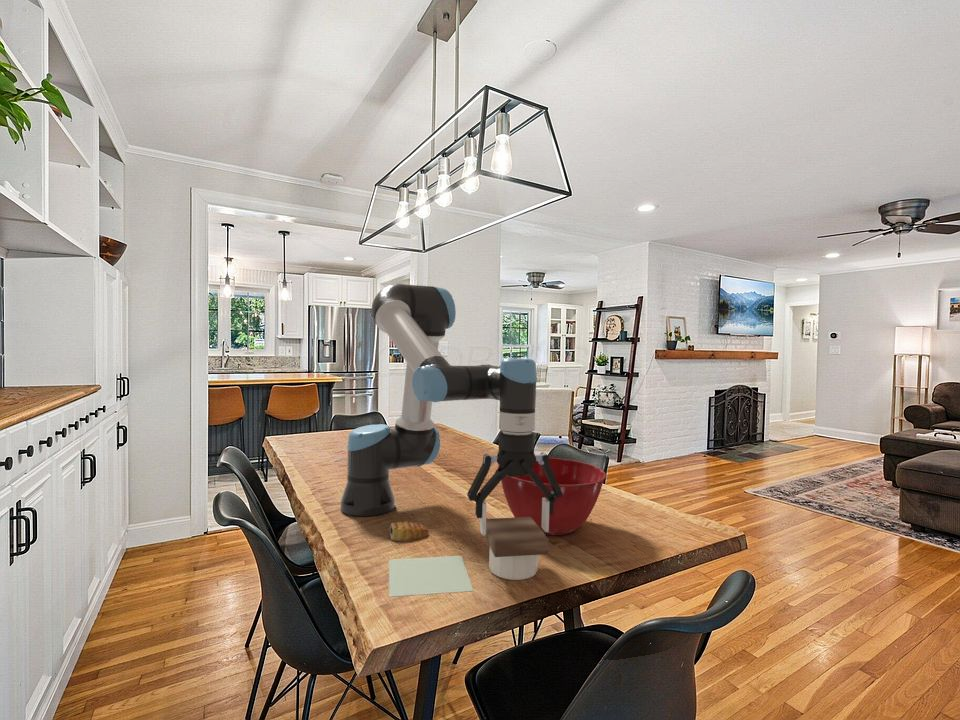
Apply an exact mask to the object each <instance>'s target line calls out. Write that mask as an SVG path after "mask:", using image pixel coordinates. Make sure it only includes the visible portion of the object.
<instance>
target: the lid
mask: <svg viewBox="0 0 960 720" xmlns="http://www.w3.org/2000/svg"><path fill="white" fill-rule="evenodd" d="M483 537H484V538H485V539H486V542H487V544H488V546H489V549H490V548H491V550H492V552H493V554H494V556H495V557H507V556H525V555H538V556H540V555H542V556H543V555H549V547H550V546H549V544H550V539H549V538H548V537H547V535H545V534H544V533H543V532H542V530H541V529H540V528H539V527H538V525H537V524H536V523H535V522H534V520H533V519H532V518H531V517H518V518H515V517H503V518H502V517H499V518H498V517H497V518H486V535H483Z"/></svg>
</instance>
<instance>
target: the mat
mask: <svg viewBox="0 0 960 720" xmlns="http://www.w3.org/2000/svg"><path fill="white" fill-rule="evenodd" d="M388 573H389V574H388V590H389V591H388V597H389V598H392V597H393V598H394V597H407V596H409V597H410V596H419V595H420V596H422V595H434V594H435V595H436V594H437V595H438V594H448V593H451V594H452V593H453V594H454V593H462V592H463V593H465V592H474V589H473V586H472V583H471V580H470V577H469V573H468V571H467V568H466V565H465V562H464V560H463V556H462V555H451V556H450V555H448V556H447V555H446V556H429V557H428V556H427V557H413V558H397V559H395V558H394V559H388Z"/></svg>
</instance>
